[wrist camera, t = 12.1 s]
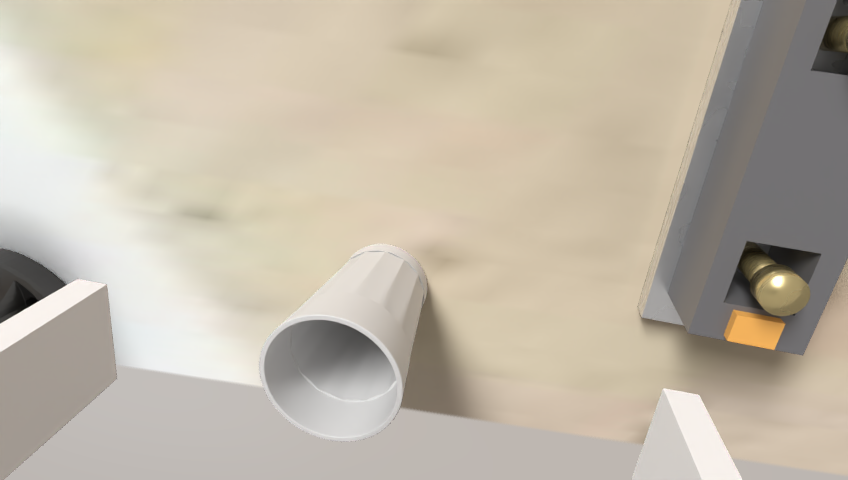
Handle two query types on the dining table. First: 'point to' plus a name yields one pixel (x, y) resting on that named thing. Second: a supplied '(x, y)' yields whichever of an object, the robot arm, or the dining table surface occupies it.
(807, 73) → the grey rectangular block
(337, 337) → the cup
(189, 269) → the dining table surface
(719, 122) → the grey plate brass knobs
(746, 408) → the dining table surface
